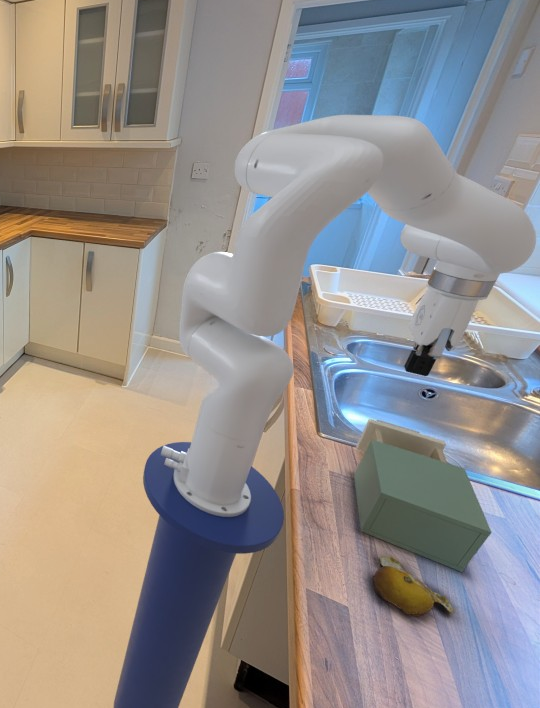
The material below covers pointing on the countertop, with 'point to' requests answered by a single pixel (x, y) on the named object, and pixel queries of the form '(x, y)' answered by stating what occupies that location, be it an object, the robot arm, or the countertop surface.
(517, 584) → the countertop surface
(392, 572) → the fruit
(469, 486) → the cabinet
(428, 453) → the drawer
